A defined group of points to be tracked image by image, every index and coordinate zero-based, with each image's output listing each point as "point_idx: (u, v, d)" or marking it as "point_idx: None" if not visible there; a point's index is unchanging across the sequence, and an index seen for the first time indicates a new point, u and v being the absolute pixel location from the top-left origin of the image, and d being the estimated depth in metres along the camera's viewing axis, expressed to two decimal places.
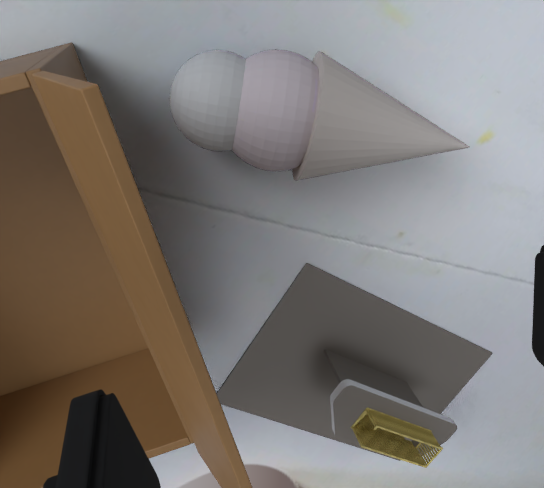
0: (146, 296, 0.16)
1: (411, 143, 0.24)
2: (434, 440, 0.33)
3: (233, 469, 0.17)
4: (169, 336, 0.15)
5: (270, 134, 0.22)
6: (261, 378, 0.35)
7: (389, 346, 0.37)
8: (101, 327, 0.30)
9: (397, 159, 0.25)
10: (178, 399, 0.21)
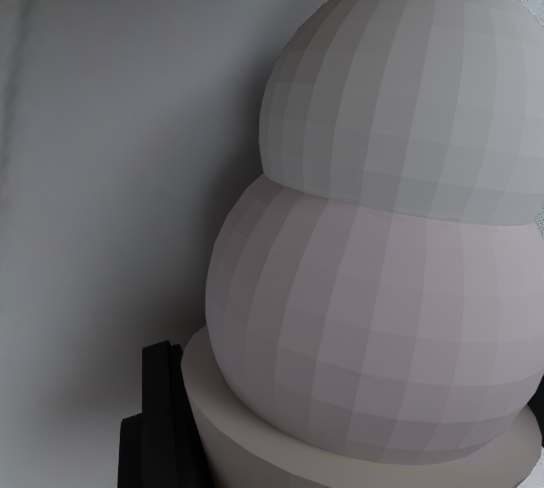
0: None
1: None
2: None
3: None
4: None
5: (436, 355, 0.06)
6: None
7: None
8: None
9: None
10: None
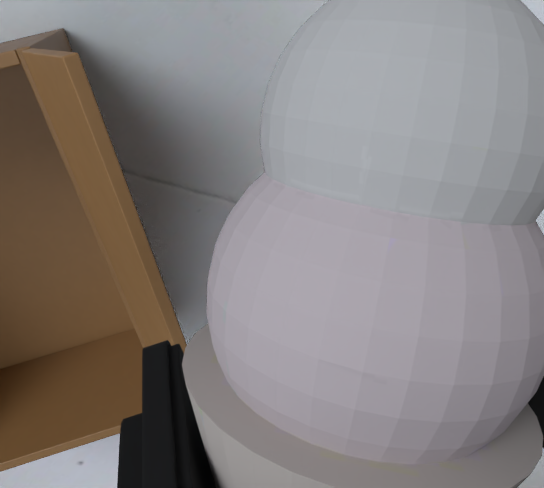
0: (125, 261, 0.17)
1: None
2: None
3: None
4: (146, 298, 0.17)
5: (439, 354, 0.06)
6: None
7: None
8: (88, 307, 0.31)
9: None
10: None
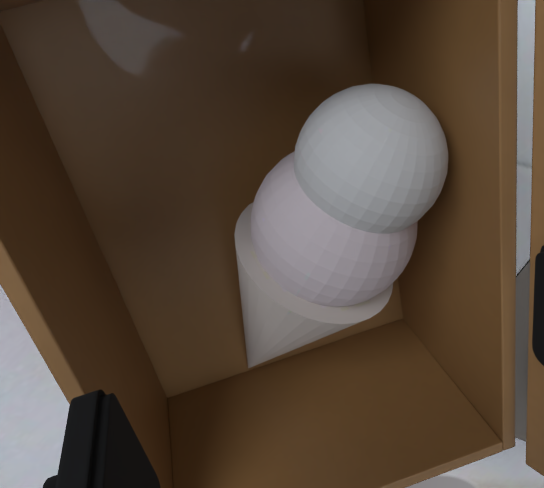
0: None
1: None
2: None
3: None
4: None
5: (395, 275, 0.16)
6: None
7: None
8: None
9: (274, 351, 0.21)
10: None
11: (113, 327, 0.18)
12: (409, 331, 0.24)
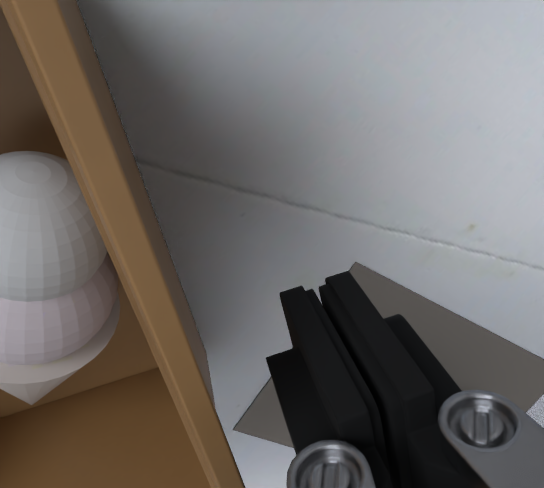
0: (148, 328, 0.09)
1: (48, 392, 0.22)
2: None
3: None
4: None
5: (71, 337, 0.16)
6: None
7: (446, 363, 0.30)
8: None
9: (21, 396, 0.21)
10: None
11: None
12: None
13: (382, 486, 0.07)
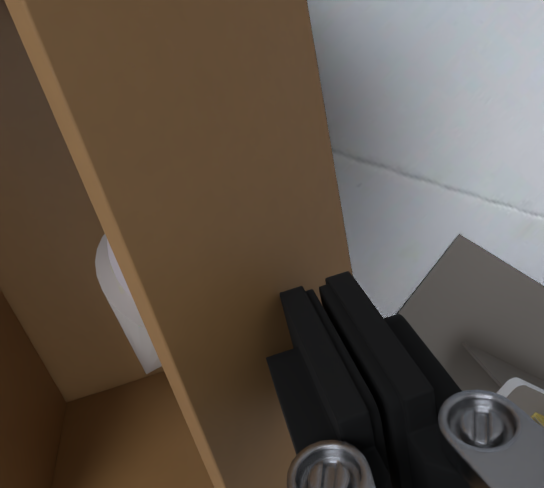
0: None
1: None
2: None
3: None
4: None
5: None
6: None
7: (533, 338, 0.31)
8: None
9: (155, 360, 0.21)
10: None
11: None
12: None
13: (382, 486, 0.07)
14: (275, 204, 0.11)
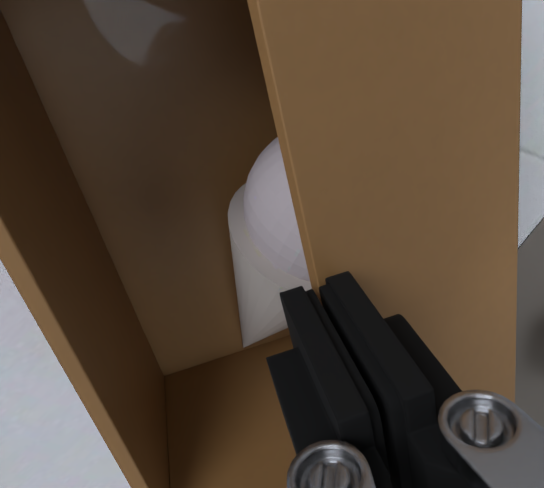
0: None
1: None
2: None
3: None
4: None
5: None
6: None
7: None
8: None
9: (267, 330, 0.21)
10: None
11: (109, 303, 0.19)
12: None
13: (382, 486, 0.07)
14: (439, 140, 0.12)
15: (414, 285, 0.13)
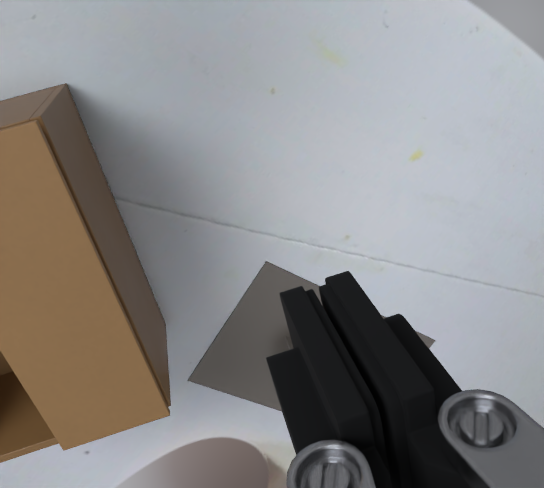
0: None
1: None
2: None
3: None
4: None
5: None
6: (230, 360, 0.41)
7: None
8: None
9: None
10: None
11: None
12: None
13: (382, 486, 0.07)
14: (33, 254, 0.24)
15: (42, 318, 0.25)
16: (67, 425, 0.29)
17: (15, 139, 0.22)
